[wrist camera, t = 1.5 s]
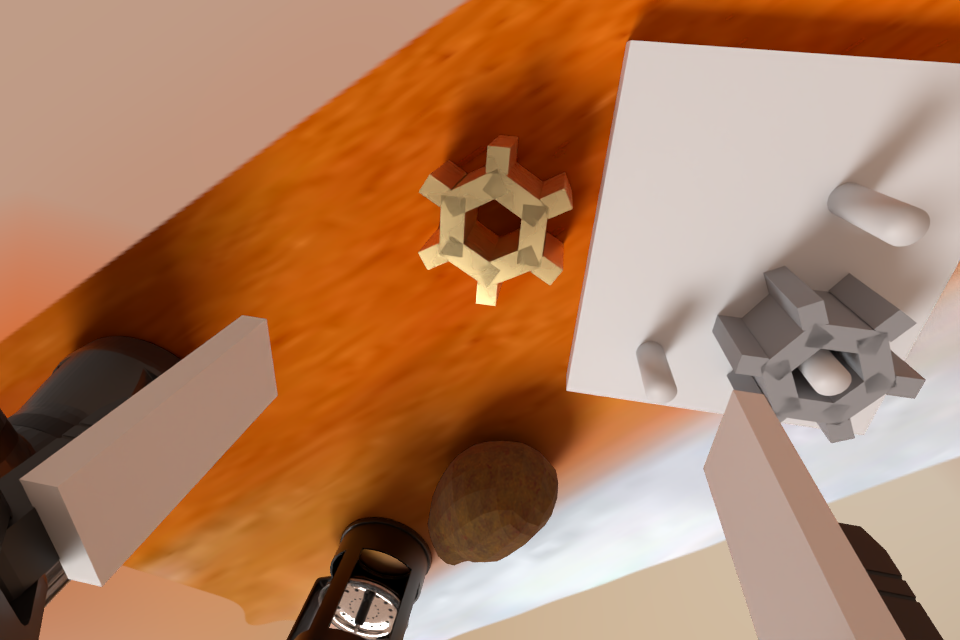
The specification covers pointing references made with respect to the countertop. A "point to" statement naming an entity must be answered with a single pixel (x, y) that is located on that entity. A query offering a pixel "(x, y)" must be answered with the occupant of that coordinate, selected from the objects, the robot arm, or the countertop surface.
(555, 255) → the brass gear
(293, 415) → the countertop surface
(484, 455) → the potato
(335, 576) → the french press
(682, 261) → the gear board
